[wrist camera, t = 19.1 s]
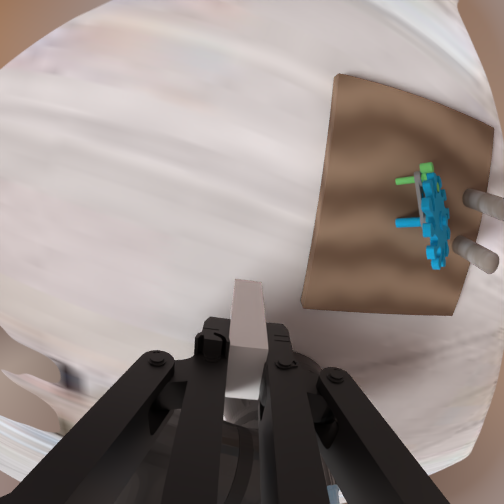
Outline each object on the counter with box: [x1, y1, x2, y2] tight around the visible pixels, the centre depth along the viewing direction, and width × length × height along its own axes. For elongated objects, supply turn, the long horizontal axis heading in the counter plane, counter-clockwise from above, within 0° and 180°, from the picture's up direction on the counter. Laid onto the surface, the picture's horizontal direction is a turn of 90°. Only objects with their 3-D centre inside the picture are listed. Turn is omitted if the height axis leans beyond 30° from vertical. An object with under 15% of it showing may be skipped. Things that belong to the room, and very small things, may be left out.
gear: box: [395, 162, 450, 270], centre depth 29 cm, size 11×6×10 cm
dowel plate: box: [301, 73, 504, 316], centre depth 29 cm, size 26×22×9 cm
